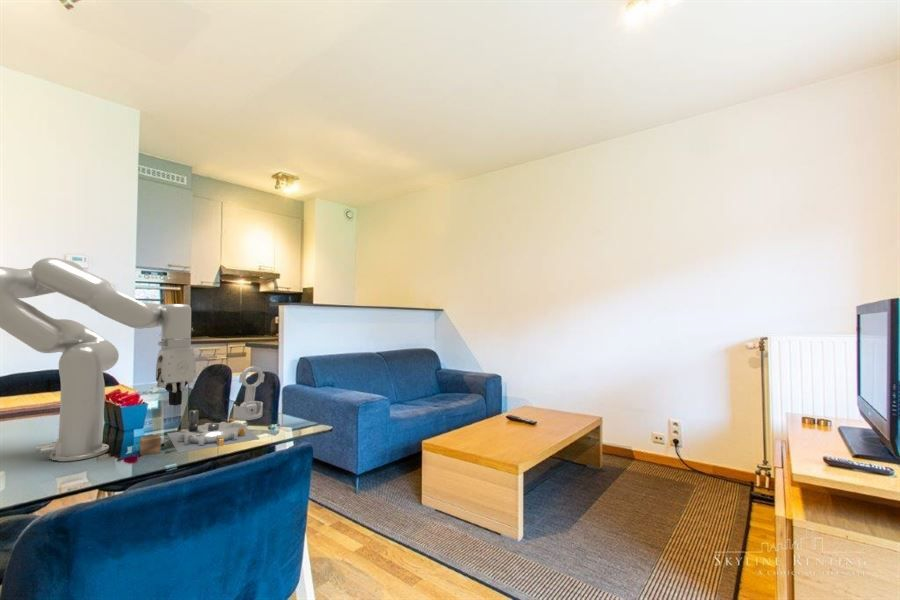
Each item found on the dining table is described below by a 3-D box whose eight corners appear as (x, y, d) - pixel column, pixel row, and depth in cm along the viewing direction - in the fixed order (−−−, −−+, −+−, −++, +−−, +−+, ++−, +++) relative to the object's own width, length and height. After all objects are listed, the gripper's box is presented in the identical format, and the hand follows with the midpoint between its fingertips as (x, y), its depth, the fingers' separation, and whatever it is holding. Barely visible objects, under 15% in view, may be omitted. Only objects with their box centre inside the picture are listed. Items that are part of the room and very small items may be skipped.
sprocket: (183, 449, 120) (184, 421, 121) (174, 433, 135) (175, 408, 135) (252, 437, 132) (253, 412, 133) (237, 424, 147) (238, 401, 147)
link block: (140, 461, 115) (141, 440, 115) (139, 456, 118) (140, 436, 118) (160, 458, 118) (161, 438, 118) (158, 453, 121) (159, 434, 121)
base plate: (177, 458, 118) (178, 447, 118) (166, 438, 135) (167, 428, 135) (259, 443, 132) (260, 433, 132) (240, 427, 150) (240, 418, 150)
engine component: (228, 421, 158) (241, 425, 152) (230, 366, 158) (243, 369, 152) (256, 415, 166) (269, 420, 160) (258, 364, 167) (271, 366, 161)
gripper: (160, 346, 119) (159, 411, 118) (207, 342, 133) (206, 400, 133) (142, 345, 121) (141, 409, 121) (189, 342, 135) (188, 398, 135)
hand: (175, 404), depth 127 cm, fingers closed
